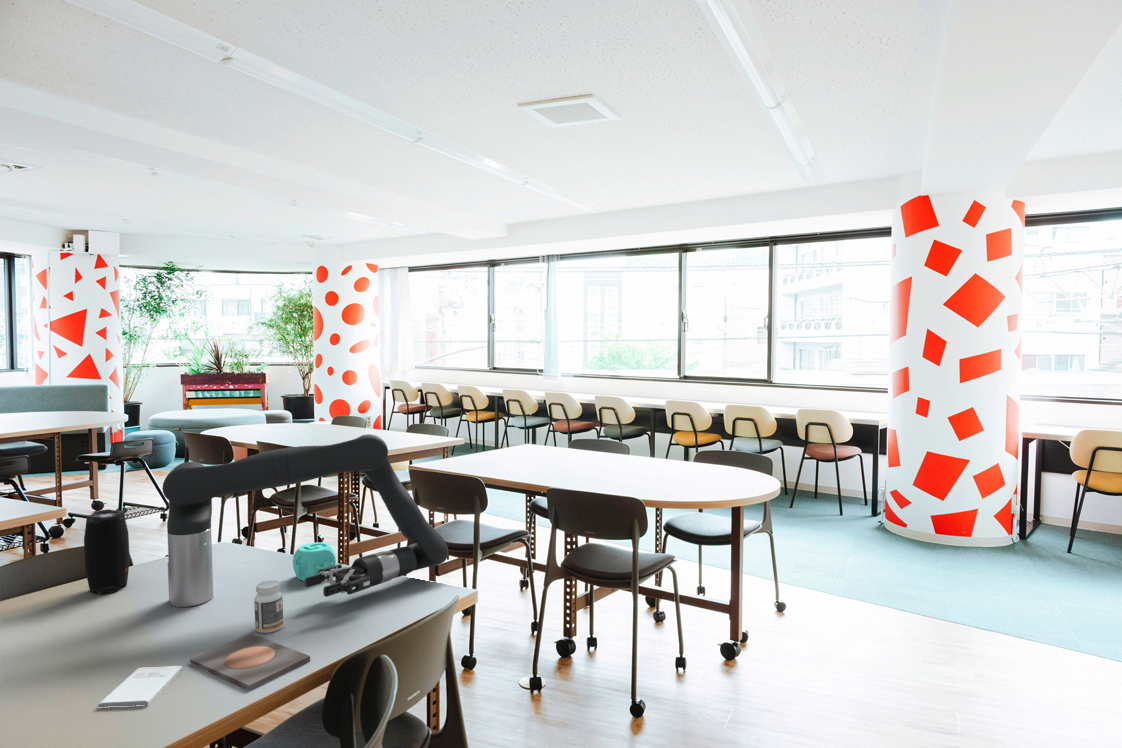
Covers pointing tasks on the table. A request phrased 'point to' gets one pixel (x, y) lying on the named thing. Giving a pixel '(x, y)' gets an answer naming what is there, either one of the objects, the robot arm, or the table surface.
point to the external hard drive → (141, 686)
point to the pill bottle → (268, 607)
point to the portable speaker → (106, 551)
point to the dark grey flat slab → (250, 661)
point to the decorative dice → (312, 559)
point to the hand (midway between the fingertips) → (314, 587)
